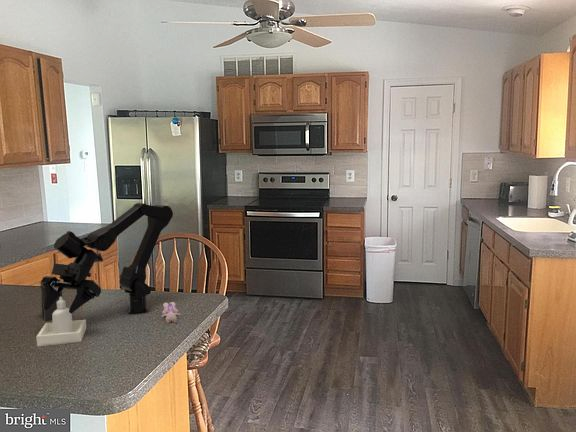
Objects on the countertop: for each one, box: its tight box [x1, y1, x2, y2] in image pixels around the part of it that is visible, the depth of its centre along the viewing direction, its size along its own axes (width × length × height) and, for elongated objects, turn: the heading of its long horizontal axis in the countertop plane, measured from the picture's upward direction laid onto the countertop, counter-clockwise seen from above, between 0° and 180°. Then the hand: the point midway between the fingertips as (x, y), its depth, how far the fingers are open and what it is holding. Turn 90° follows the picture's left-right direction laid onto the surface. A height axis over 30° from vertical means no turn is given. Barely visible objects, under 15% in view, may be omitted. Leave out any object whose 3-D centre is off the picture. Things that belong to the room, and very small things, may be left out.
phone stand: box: [40, 279, 63, 322], centre depth 164 cm, size 9×6×12 cm, turn 34°
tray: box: [36, 319, 87, 347], centre depth 146 cm, size 12×12×3 cm
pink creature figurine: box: [160, 301, 181, 324], centre depth 163 cm, size 6×6×15 cm
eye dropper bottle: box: [51, 296, 73, 334], centre depth 145 cm, size 4×6×12 cm
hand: (57, 311), depth 144 cm, fingers open, 9 cm apart
